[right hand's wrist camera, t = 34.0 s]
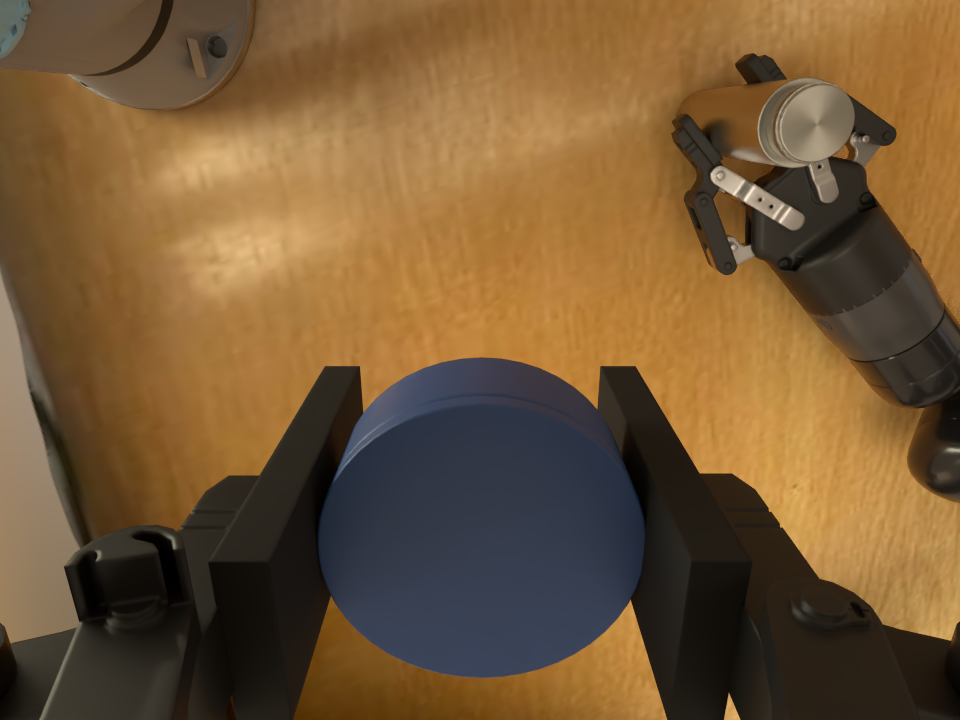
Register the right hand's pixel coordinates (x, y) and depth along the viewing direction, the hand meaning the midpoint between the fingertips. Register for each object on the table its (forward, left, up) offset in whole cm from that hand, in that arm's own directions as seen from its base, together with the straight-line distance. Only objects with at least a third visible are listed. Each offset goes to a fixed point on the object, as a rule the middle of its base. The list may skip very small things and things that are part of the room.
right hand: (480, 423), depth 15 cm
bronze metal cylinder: (-3, +17, -38) cm, 42 cm away
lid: (0, 0, +4) cm, 4 cm away
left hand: (-5, +16, -32) cm, 36 cm away
